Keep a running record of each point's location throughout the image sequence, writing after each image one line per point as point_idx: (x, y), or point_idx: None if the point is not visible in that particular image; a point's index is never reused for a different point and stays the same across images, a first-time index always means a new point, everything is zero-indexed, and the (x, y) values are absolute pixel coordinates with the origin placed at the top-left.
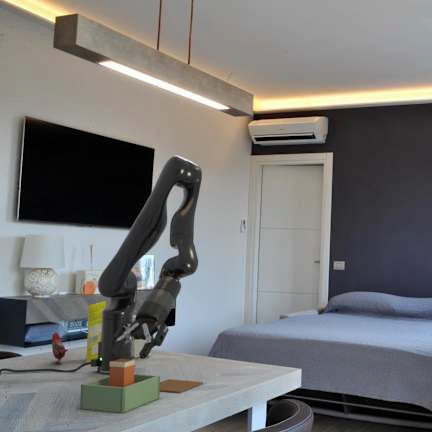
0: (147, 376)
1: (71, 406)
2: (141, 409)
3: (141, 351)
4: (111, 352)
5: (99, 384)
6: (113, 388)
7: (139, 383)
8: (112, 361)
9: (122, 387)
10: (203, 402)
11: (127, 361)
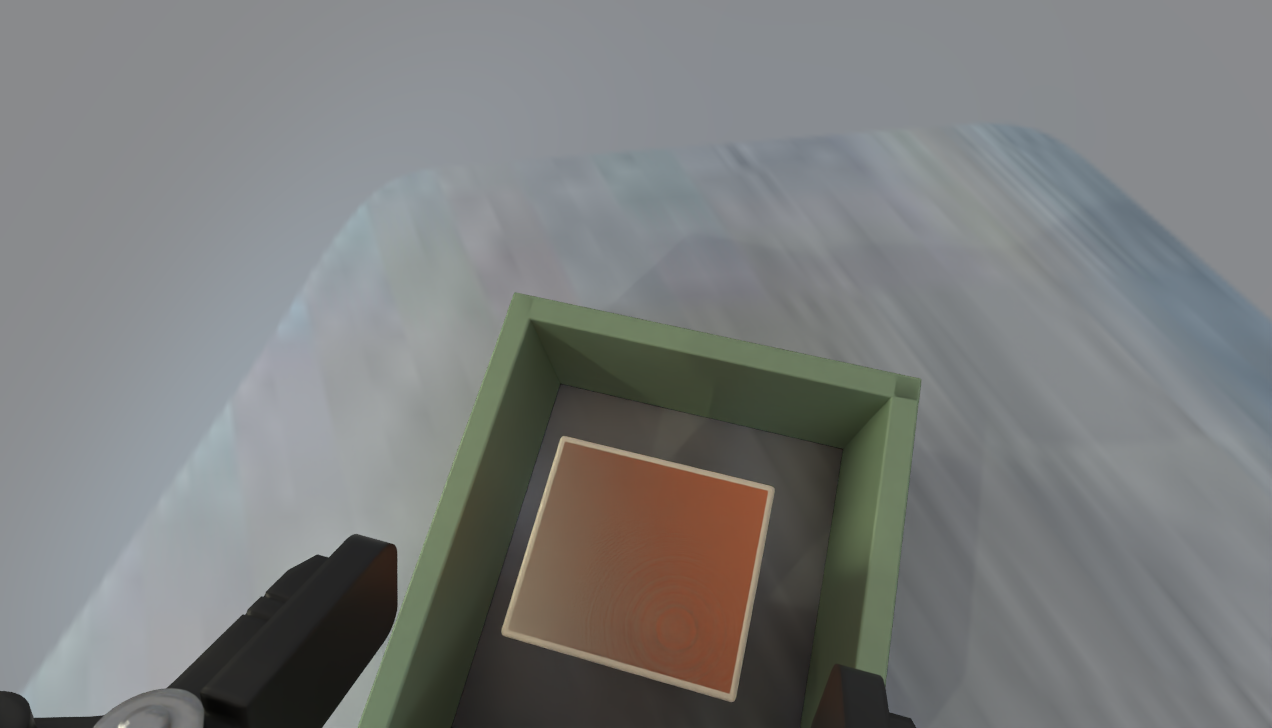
0: None
1: (962, 484)
2: (458, 446)
3: (345, 565)
4: (880, 675)
5: (857, 573)
6: (600, 313)
7: (448, 479)
8: (745, 500)
9: (529, 314)
10: (65, 657)
11: (559, 518)
